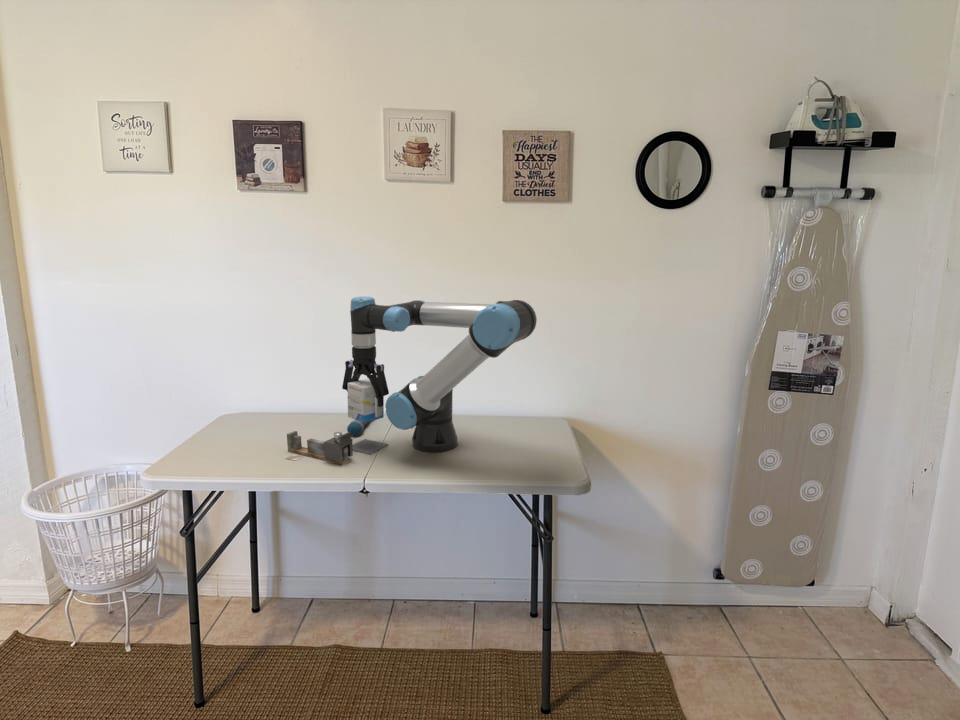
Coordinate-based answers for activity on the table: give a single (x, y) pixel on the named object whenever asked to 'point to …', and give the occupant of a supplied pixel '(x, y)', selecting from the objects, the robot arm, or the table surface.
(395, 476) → the table surface
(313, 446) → the vise
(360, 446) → the mat
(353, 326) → the robot arm
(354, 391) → the ink box
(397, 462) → the table surface
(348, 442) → the clip
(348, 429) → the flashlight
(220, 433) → the table surface
